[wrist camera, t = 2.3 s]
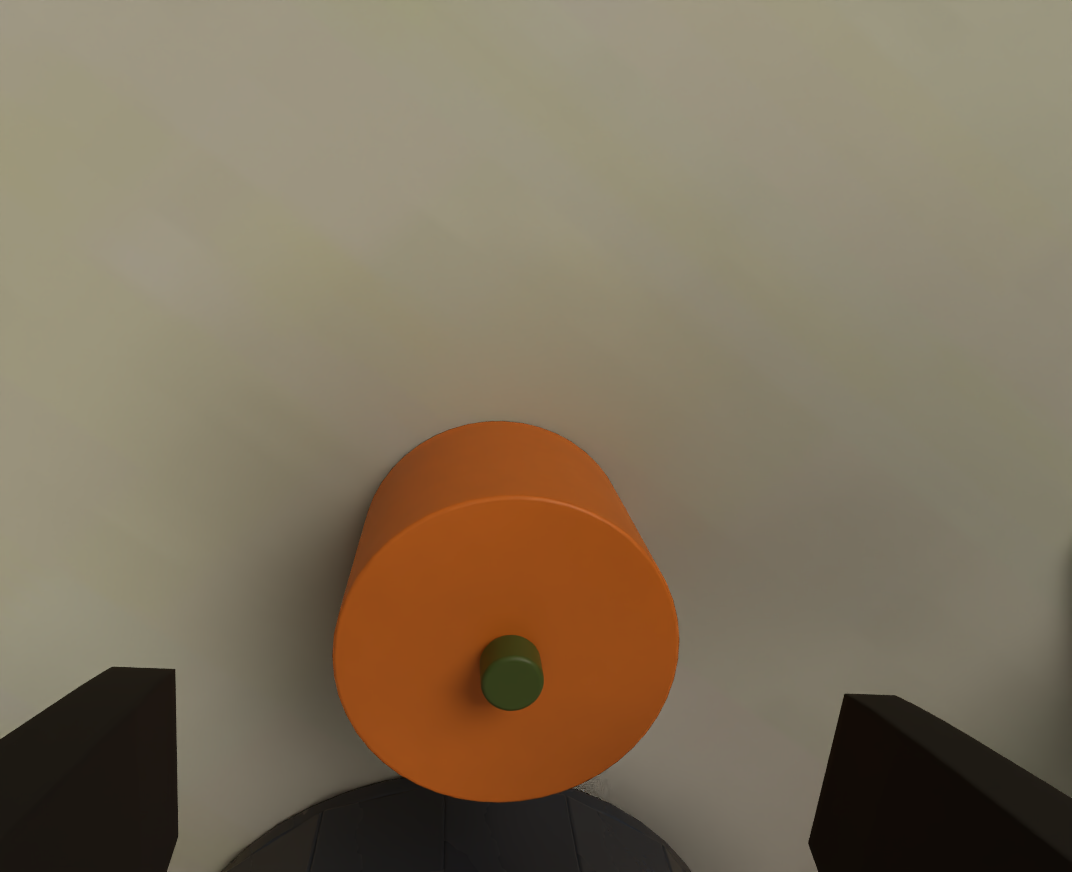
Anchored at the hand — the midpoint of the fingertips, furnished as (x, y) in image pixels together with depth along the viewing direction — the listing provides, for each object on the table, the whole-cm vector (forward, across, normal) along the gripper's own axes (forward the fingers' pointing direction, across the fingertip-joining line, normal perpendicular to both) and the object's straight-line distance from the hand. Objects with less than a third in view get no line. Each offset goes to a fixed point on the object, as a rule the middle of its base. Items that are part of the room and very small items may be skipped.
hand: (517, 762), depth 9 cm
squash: (+6, 0, 0) cm, 6 cm away
